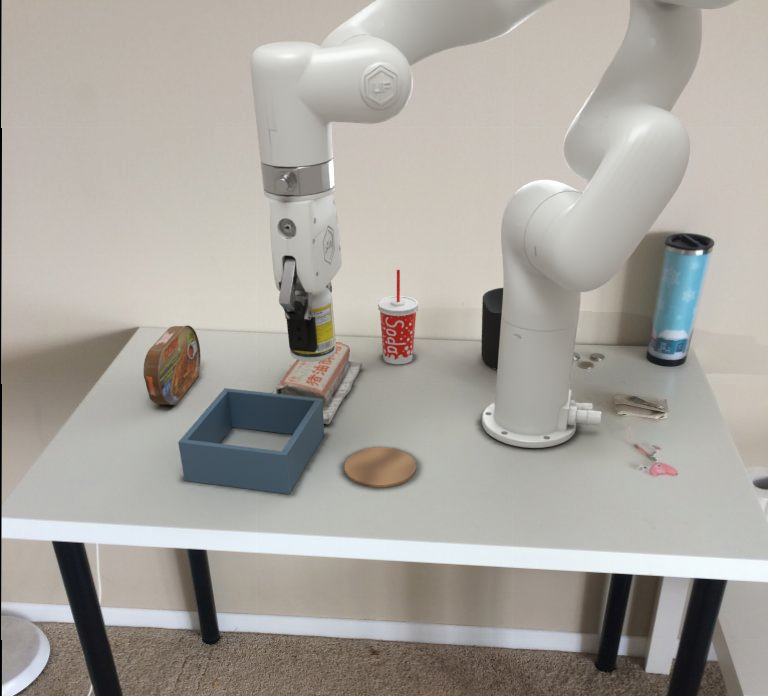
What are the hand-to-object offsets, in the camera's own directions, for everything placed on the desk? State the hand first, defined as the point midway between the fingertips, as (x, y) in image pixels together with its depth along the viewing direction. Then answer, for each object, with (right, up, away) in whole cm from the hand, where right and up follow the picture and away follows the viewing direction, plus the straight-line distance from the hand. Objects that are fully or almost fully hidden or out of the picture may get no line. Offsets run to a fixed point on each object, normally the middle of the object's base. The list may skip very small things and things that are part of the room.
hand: (312, 337), depth 101 cm
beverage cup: (+11, +4, +35) cm, 37 cm away
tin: (-22, -3, +26) cm, 34 cm away
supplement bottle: (0, -2, +1) cm, 2 cm away
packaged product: (-2, -3, +25) cm, 26 cm away
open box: (-8, -13, +11) cm, 19 cm away
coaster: (+8, -15, +8) cm, 19 cm away
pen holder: (+28, +3, +34) cm, 44 cm away
